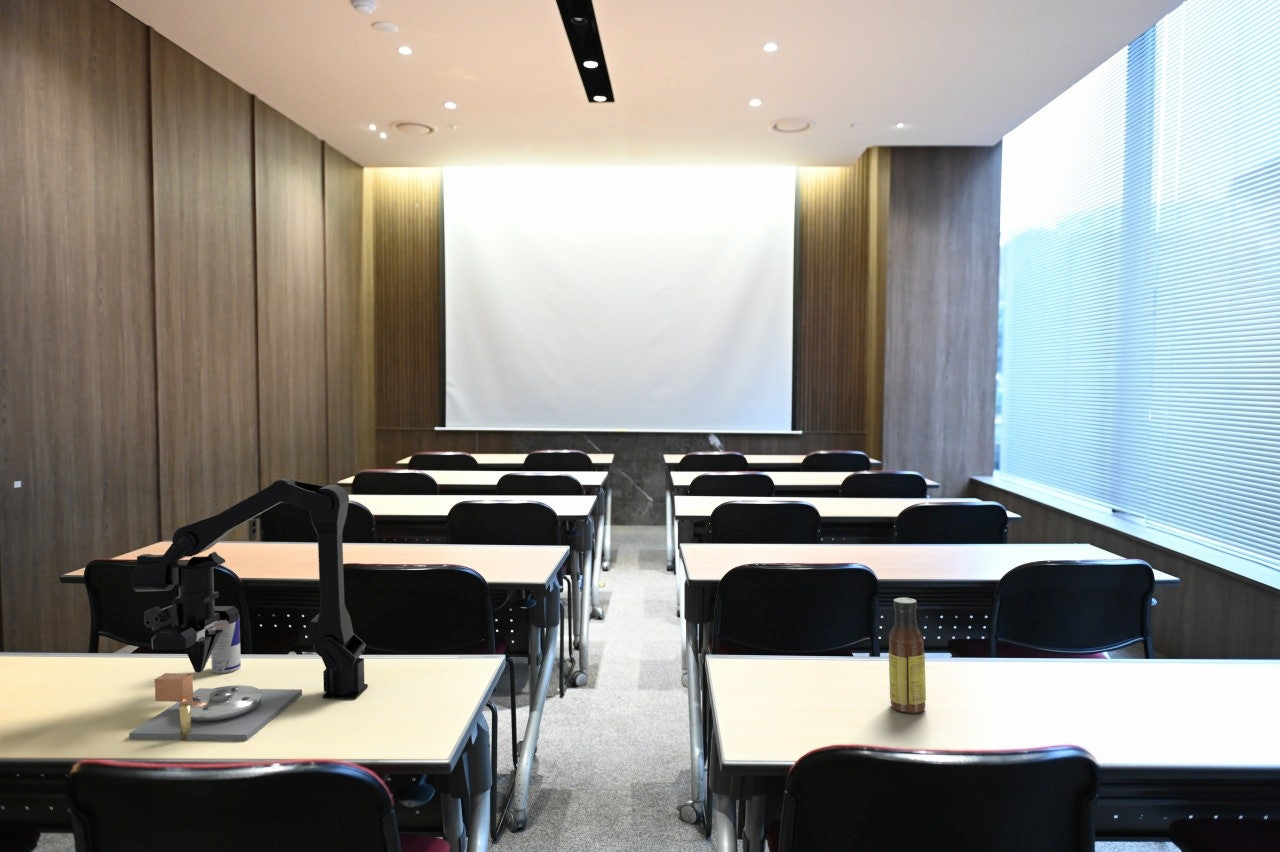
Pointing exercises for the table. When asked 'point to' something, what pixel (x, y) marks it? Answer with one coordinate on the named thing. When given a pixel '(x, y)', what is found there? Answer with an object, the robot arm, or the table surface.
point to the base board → (222, 729)
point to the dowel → (185, 720)
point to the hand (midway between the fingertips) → (199, 671)
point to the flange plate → (206, 697)
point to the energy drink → (227, 648)
